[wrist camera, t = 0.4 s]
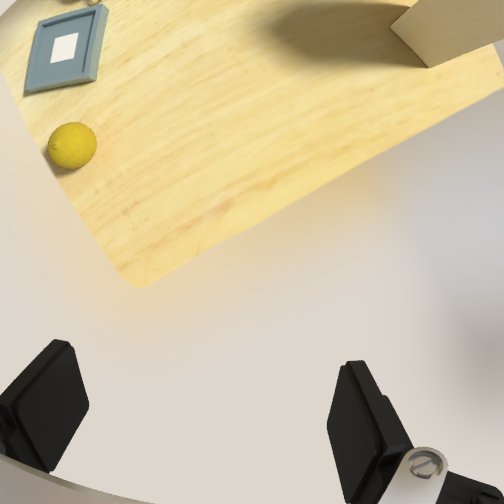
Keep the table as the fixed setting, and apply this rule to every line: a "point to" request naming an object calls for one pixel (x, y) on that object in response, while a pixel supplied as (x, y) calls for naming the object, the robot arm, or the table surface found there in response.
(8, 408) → the robot arm
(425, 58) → the beige rectangular block
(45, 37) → the tray
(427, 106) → the table surface
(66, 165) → the lemon
